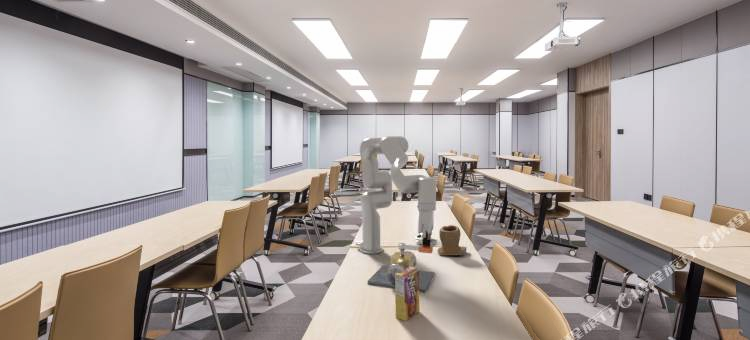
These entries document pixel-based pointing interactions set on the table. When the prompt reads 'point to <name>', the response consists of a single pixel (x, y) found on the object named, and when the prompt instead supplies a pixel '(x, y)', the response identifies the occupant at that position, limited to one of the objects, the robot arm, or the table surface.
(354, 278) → the table surface
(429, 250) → the valve lever
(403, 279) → the candy box
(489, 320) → the table surface
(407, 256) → the valve body
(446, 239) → the stone cup
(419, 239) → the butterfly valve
